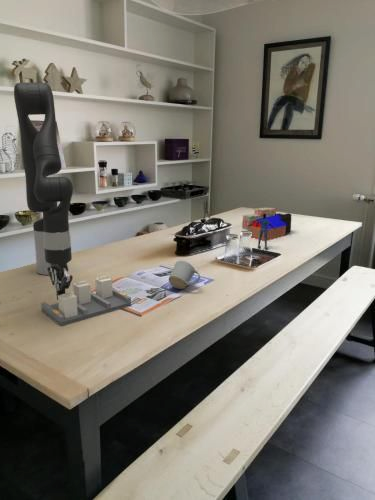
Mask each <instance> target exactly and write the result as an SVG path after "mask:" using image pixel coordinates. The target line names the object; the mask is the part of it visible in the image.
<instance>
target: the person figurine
mask: <svg viewBox="0 0 375 500" xmlns="http://www.w3.org/2000/svg"><path fill="white" fill-rule="evenodd" d="M265 218H266V214H263V219H260V220H259V221H258V223H257V224H256V227H257V226H258V224H259V223H260V222H261V229H260V238H259V240H257V249H260V250H261V249H262V251H263V250H268V249H269V247H268V246H267V245H268V240H267V224H269V226H271V227H273V226H272V225H271V224H270V223H269V221H268V220H267V219H265ZM273 228H274V227H273ZM274 229H275V230H276V228H274ZM263 232H264V238H265V241H264V246H261V242H262V241H261V238H262V235H263Z"/></svg>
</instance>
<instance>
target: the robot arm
mask: <svg viewBox="0 0 375 500" xmlns="http://www.w3.org/2000/svg"><path fill="white" fill-rule="evenodd" d="M13 97H14V104H15V105H14V106H15V109H16V115H17V121H18V126H19V132H20V143H21V144H20V145H21V156H22V162H23V163H22V164H23V168H24V169H23V170H24V174H25V175H24V176H25V193H26V204H27V208H28V210H29V211H30V212H32V213H43V214H42V218H41V219H37V220H36V221H34V222H33V224H32V226H33V227H32V229H33V237H34V238H33V239H34V249H35V261H36V262H35V263H36V273H38V274H40V275H44V276H45V275H46V276H47V275H49V278H50V281H51V284H52V286H54V288H55V290H56V293H55V294H56V301H58V295H61V294H65V293H66V290H67V289H70V286H71V284H72V281H73V275H72V274H71V275H69V266H68V263H69V262H71V261H72V259H73V258H72V245H71V244H72V241H71V233H70V224H69V223H70V222H69V212H70V211H69V210H70V206H71V201H72V197H73V193H74V192H73V191H74V185H73V182H72V181H71V180H70V178H69V177H67V176H54V175H55V174H58V173H59V172H60V171H61V170H62V167H63V166H62V160H61V154H60V150H59V145H58V137H57V136H58V135H57V120H56V109H55V100H54V99H55V98H54V94H53V90H52V88H51V86H50V84H49V83H46V82H17V83H15V84H14V88H13ZM32 115H33V116H35V115H38V116H39V115H44V121H43V122H42V126H41V127H40V129H39V130H38V129H37V127H36V126H35V125H34V124H33V122H32V120H31V119H30V117H29V116H32ZM52 175H53V176H52Z"/></svg>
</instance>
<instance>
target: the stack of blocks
mask: <svg viewBox="0 0 375 500" xmlns="http://www.w3.org/2000/svg"><path fill="white" fill-rule="evenodd" d="M263 214H266V217H270V216H274V215H275V214H277V208H274V207H270V206H269V207H260V208H254V211H253V213H250V214H243V215H242V221H241V223H242V224H241V225H242V226H241V229H243V230H247V231H248V225H250V224H251V223H252V222H253V221H255V220H256V219H259V218H263Z"/></svg>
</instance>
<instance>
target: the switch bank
mask: <svg viewBox="0 0 375 500" xmlns="http://www.w3.org/2000/svg"><path fill="white" fill-rule="evenodd" d="M112 291H113V296H112V297H108V298H104V299H103V298H101V297H99V296H98V295H96V293H94V292H93V291H91V302H89V303H85V304H82V305H80V304H78V303H77V312H78V315H76V316H73V317H69V318H66V319H65V318H64V316H63V315H62V314H61V313H60V312H59V304H58V302H57V303H53V304H49V303H47V302H46V301H42V302H40V308H41V312H42V313H44V314H45V315H46V316H47V317H49V318H50V319H51V320H52V321H54V322H55V323H56V324H57V325H59V326H60V327H62V326H66V325H70V324H73V323H76V322H80V321H83V320H86V319H90V318H93V317H94V318H95V317H98V316H101V315H104V314H107V313H110V312H113V311H118V310H120V309H124V308H127V307H131V306H132V297H130V296H128V294H125V293H124V292H121V291H119V290H117V289H116V288H113V287H112Z"/></svg>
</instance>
